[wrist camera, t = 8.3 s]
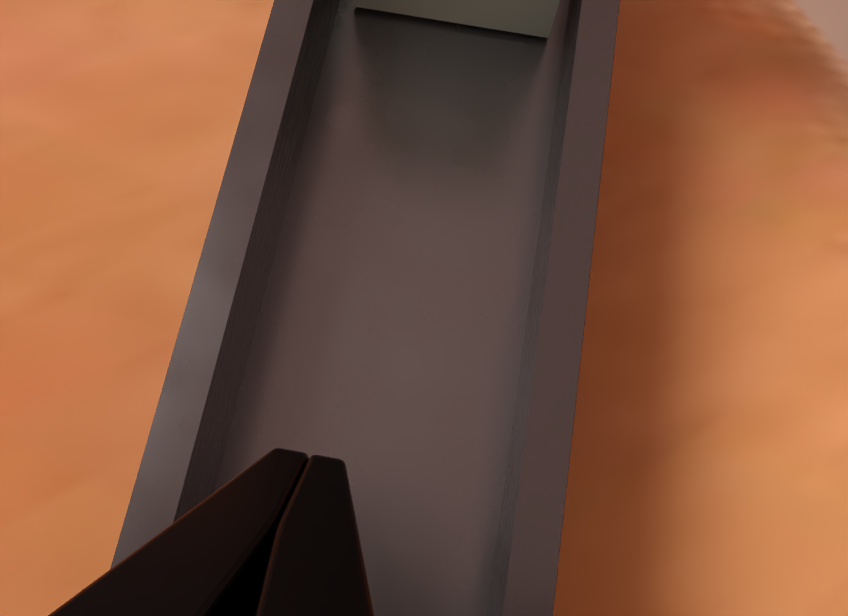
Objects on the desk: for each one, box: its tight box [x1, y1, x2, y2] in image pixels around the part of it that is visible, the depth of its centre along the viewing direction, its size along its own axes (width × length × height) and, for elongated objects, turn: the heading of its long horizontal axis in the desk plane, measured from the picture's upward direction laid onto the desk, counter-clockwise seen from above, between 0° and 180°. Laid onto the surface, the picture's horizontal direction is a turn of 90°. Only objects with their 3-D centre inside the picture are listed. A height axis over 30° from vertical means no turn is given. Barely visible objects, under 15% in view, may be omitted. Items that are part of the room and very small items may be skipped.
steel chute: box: [111, 0, 620, 616], centre depth 18 cm, size 24×10×4 cm, turn 170°
